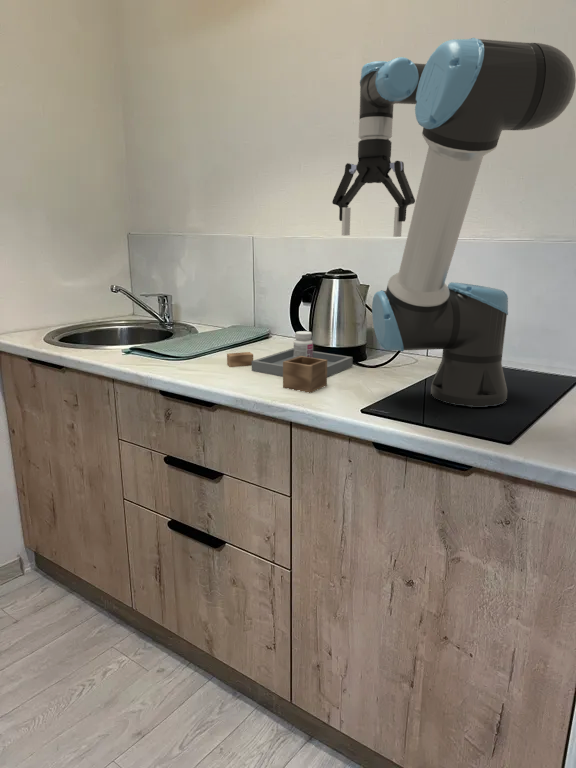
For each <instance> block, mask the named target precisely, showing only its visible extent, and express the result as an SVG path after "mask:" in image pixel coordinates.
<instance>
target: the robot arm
mask: <svg viewBox="0 0 576 768" xmlns="http://www.w3.org/2000/svg"><path fill="white" fill-rule="evenodd" d="M359 87H360V88H359V119H358V120H359V122H358V138H359V141H358V143H357V144H358V145H357V147H358V148H357V160H358V161H357V164H354V163H349V162H347V163H346V164H345V166H344V174H343V176H342V179H341V181H340V183H339V184H338V187H337V190H336V191H335V195H334V197H333V199H332V201H331V203H332V204H333V205H336V206H338V207H339V208H338V210H339V216H338V219H339V222H341V236H350V235H351V233H350V232H351V207H349V206H350V203H351V202H352V201H353V200H354V199H355V197H356V195H357V194H358V193H359V192H360V190H361V189H362V187H363V186H365V185H366V184H374V183H376V184H381V183H382V185H384V187H385V188H386V190H387V191H388V193H389V194H390V196H392V198H393V200H394V201H395V203H396V204H397V206H395V207H394V217H393V219H394V220H393V236H392V237H393V238H394V237H395V238H397V237H398V238H399V237H402V231H403V230H402V228H403V227H402V226H403V222H406V219H407V208H408V207H409V206H410V205H413V204H414V208H413V211H412V215H411V221H410V225H409V229H408V233H407V237H406V240H405V245H404V248H403V254H402V256H401V257H402V258H401V262H400V266H399V270H398V272H397V273H394V274H393V275H391V276H390V278H389V280H388V281H387V286H386V290H379V291H376V292H375V293H374V294H373V295H374V296H372V303H371V304H372V306H371V312H372V313H371V315H372V324H373V329H374V334H375V337H376V341H377V343H378V345H380V347H381V348H382V349H384V350H385V351H399V352H404V351H422V350H425V351H427V350H428V351H429V350H442V356H441V357H442V358H441V361H440V364H438V367H437V370H436V372H435V376H434V378H433V380H432V382H431V385H430V395H431V394H432V395H433V396H434V397H435V398H437V399H440V400H442V401H446V402H449V403H455V404H464V405H473V406H485V405H494V404H499V403H502V402H504V401H506V402H507V400H506V399H508V388H507V382H506V379H505V374H504V369H503V365H502V364H503V363H502V360H503V353H504V352H503V351H504V343H505V333H506V325H507V317H508V316H509V311H508V310H509V297H508V294H507V293H506V291H504V290H502V289H499V288H496V287H490V286H484V285H477V284H471V283H470V284H469V283H462V282H453V281H451V282H449V283H448V285H447V284H446V283H445V282H446V280H447V276H448V273H449V269H450V266H451V262H452V259H453V256H454V252H455V250H456V247H457V242H458V240H459V237H460V234H461V230H462V226H463V224H464V220H465V218H466V214H467V211H468V207H469V204H470V200H471V198H472V194H473V190H474V187H475V184H476V182H477V177H478V174H479V171H480V169H481V164H482V162H483V158H484V156H486V155H487V154H489V153H491V152H492V151H494V150H496V148H497V146H498V142H499V139H500V136H501V135H502V131H527V130H530V131H531V130H533V129H535V130H536V129H538V128H542V127H543V126H546V125H548V124H550V123H552V122H553V121H554V120H556V119H557V118H558V117H560V116H561V114H562V113H563V112H564V111H565V110H566V108H567V107H568V106H569V104H570V103H571V100H572V99H573V96H574V93H575V89H576V71H575V68H574V64H573V62H572V61H571V59H570V58H569V57H568V56H567V55H566V53H564V52H563V51H562V50H561V49H559V48H558V47H554V46H553V45H551V44H550V45H549V44H545V43H542V42H541V43H540V42H522V41H507V40H498V39H497V40H496V39H484V38H483V39H482V38H476V37H472V38H462V39H461V38H460V39H459V38H457V39H454V38H453V39H448V40H446V41H444V42H442V43H441V44H439V45H438V46H437V48H436V49H435V50H434V51H433V52H432V53H431V54H430V56H429V58H428V60H427V61H426V63H417V62H416V63H414V61H412V60H411V59H409V58H407V57H404V56H401V57H396V58H392V59H391V60H389V61H388V60H387V61H384V60H375V61H371V62H368V63H365V64H364V65H363V66H362V68H361V73H360V80H359ZM397 104H399V105H400V104H403V105H415V107H414V108H415V109H414V112H415V119H416V121H417V123H418V125H420V126H421V127H422V132H421V135H422V138H423V139H424V141H425V143H427V145H428V149H427V154H426V156H425V162H424V166H423V169H422V174H421V178H420V183H419V185H418V191H417V194H416V199H415V197H414V193H413V191H412V189H411V186H410V183H409V181H408V178H407V176H406V174H405V166H404V165H405V164H404V161H401V160H395V161H394V162H392V161H391V157H392V141H391V139H392V137H393V121H394V119H393V118H394V105H397ZM391 170H392V171H393V172H394V175H395V177H396V179H397V183H398V185H399V187H400V190H401V191H400V190H399V189H398V188H397V186H396V184H395V183H394V182H393V180H392V178H391V176H390V175H389V173H390V172H391ZM356 173H358V176H356V177H355V179H354V178H353V177H354V174H356ZM353 179H354V181H353V183H352V185H351V186H350V184H351V182H352V180H353ZM435 398H434V399H435Z"/></svg>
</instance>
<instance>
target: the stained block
mask: <svg viewBox="0 0 576 768" xmlns="http://www.w3.org/2000/svg"><path fill="white" fill-rule="evenodd" d="M253 360H254V353H252V352H250V351H246V352H245V351H244V352H231V353H226V363H227V364H226V365H227V366H229V367H230V368H237V367H239V368H240V367H248V366H249V367H250V366H251V367H252V361H253Z"/></svg>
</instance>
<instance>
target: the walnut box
mask: <svg viewBox="0 0 576 768" xmlns="http://www.w3.org/2000/svg"><path fill="white" fill-rule="evenodd" d="M324 386H325V387H326V386H328V377H327V360H324V359H318V358H312V357H305V356H298V357H295V358H293V359H290V360H287V361H284V362H283V376H282V388H283V389H287V388H289V389H288V390H292V389H294V391H297V390H300V391H299V392H302V391H305V392H304V393H307V392H309V393H308V394H311V393H313V391H314V392H316V391H317V389H318V390H320V389H322V387H323V388H325V387H324ZM315 390H316V391H315ZM310 392H311V393H310Z"/></svg>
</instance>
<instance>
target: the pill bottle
mask: <svg viewBox="0 0 576 768" xmlns="http://www.w3.org/2000/svg"><path fill="white" fill-rule="evenodd" d="M294 334H295V335H294V338H295V339H294V341H293V348H294V358H295V357H298V356H305V357H312V358H313V351H314V341H313V340H312V337H313V335H312V334H313V333H312V331H309V330H308V331H307V330H303V331H302V330H301V331H300V330H299V331H296V332H295V333H294Z"/></svg>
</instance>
